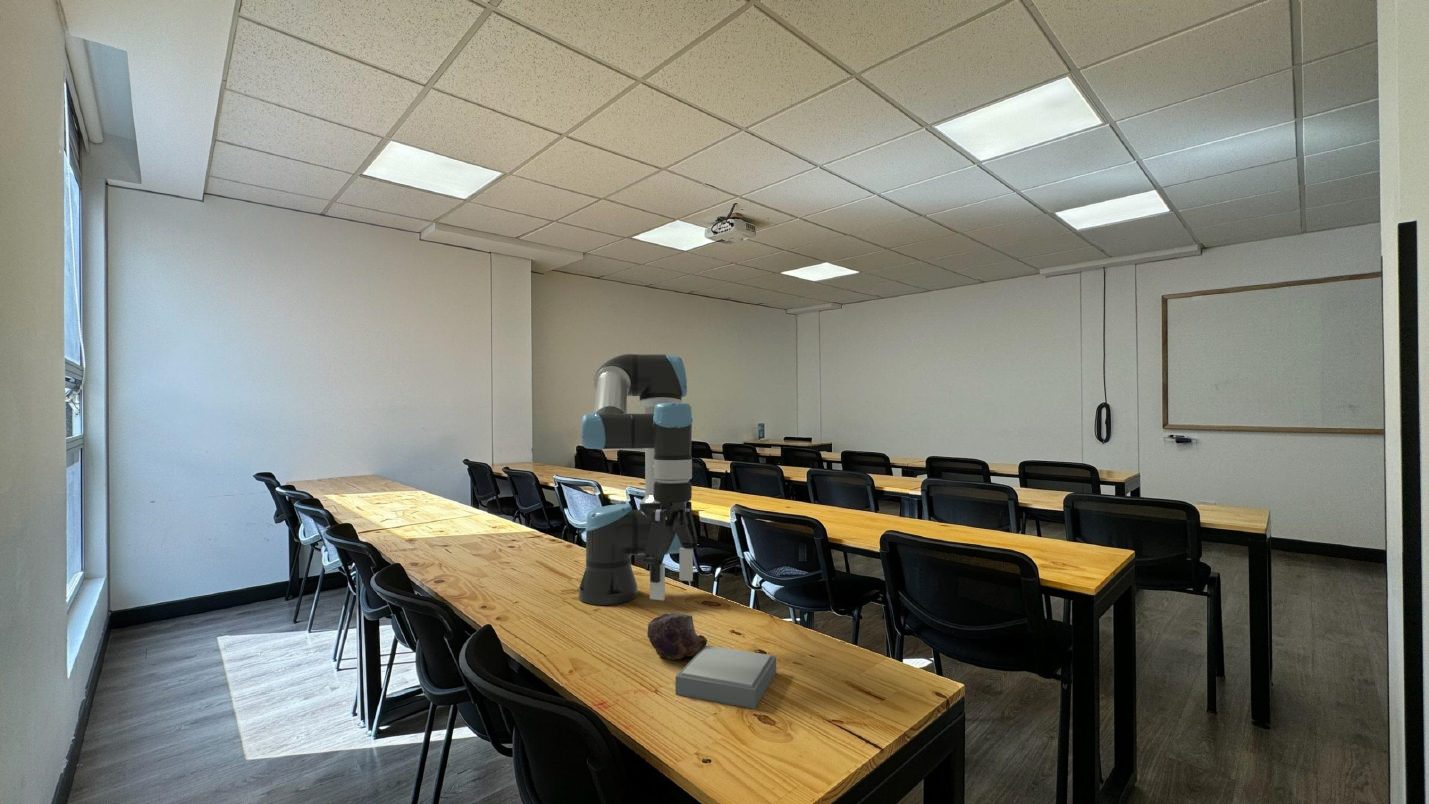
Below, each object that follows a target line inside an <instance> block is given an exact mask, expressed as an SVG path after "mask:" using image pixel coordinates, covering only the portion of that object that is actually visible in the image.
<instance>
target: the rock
mask: <svg viewBox="0 0 1429 804" xmlns="http://www.w3.org/2000/svg"><path fill="white" fill-rule="evenodd" d="M646 635H647V638H648V639H649V642H650V644H651V646H652V647H653V649H655V653H656V654H657V655H658V656H659V657H661V658H663V659H664V658H665V659H666V660H673V661H674V660H683V658H684V657H685V658H686V657H695V656H696V655H697V654H698V653H699V651H700V650H701V649H702V648H703V647H704V646H705V645H706V646H707V643H708V639H707V638H706V637H705V636H704V635H702V634H700V635H698V634H697V633H696V629H695V624H694V619H693V615H689V614H686V613H684V612H682V613H677V612H675V613H674V612H672V613H669V614H668V613H663V614H660V615H659V616H656V617H654V618H653V619H652V620H651V621H650V622H648V624H647V634H646Z"/></svg>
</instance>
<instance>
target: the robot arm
mask: <svg viewBox="0 0 1429 804" xmlns="http://www.w3.org/2000/svg"><path fill="white" fill-rule="evenodd" d="M687 383H688V381H687V374H686V368H685V364H684V361H683V359H682V357H681V356H679V355H675V354H674V355H672V354H666V353H664V354H636V353H635V354H634V353H625V354H621V355H618V356H615V357H613V358H611V359H609V360H607V361H606V362H605V363H603V364H602V365H601V366H600V367H599V368H598V369H597V371H596V372H595V375H594V378H593V387H594V391H595V399H594V406H593V407H594V408H593V412H592V413H586V414H584V415H583V416H582V418H581V444H582V447H584V448H585V449H591V450H594V449H596V450H599V451H602V450H625V449H626V450H627V449H629V450H630V449H633V450H634V449H636V450H638V449H639V450H642V449H643V450H644V451H645V452H644V453H645V454H644V456H645V457H644V458H645V460H644V461H645V463H644V464H645V465H644V469H645V471H644V474H645V476H644V477H645V479H644V481H645V485H644V487H645V488H644V493H645V495H644V497H643V498H642V500H641V501H640V502H639V509H633V508H632V505H631V504H629V503H617V504H610V505H605V506H601V507H597V508H593V509H592V510H591V511H589V512H588V513H587V515H586V523H585V530H584V531H585V532H586V533H585V534H586V536H585V537H586V539H585V569H584V572H583V575H582V578H581V582H580V584H579V587H578V599H579V601H581V602H583V603H585V604H589V605H595V606H608V605H609V606H610V605H620V604H624V603H627V602H630V601H633V600H635V598H637V597H638V592H639V591H638V587H639V586H638V583H637V580H636V576H635V573H634V570H633V567H632V556H643V555H644V556H643V563H644V564H646V565H649V600H657V601H664V600H665V599H666V597H665V596H666V593H665V592H666V588H665V587H666V572H665V571H666V563H663V561H664V558H665V556H666V555H669V554H672V555H673V554H678V555H679V558H678V559H679V561H678V562H679V572H678V573H679V577H678V579H679V581H685V582H692V581H694V579H693V577H694V573H693V572H694V564H693V563H694V549H697V548H698V546H699V545H698V536H697V535H698V534H697V531H696V526H695V525H696V524H695V521H694V517H693V511H692V510H693V509H692V508H693V507H692V501H691V500H692V495H693V494H692V493H693V490H692V488H693V483H692V482H691V481H690V480H691V479H692V478H693V459H692V457H693V456H692V432H693V429H692V427H693V424H692V423H693V417H692V415H693V414H692V406H691V405H690V404H689V403H688V402H687V403H685V402H683V401H682V398H684V397H686V396H687V395H688V385H687ZM628 397H639V404H640V405H641V406H642V407H643V408H644V412H645V413H628Z"/></svg>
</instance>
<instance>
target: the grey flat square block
mask: <svg viewBox="0 0 1429 804" xmlns="http://www.w3.org/2000/svg"><path fill="white" fill-rule="evenodd" d="M776 674H777V656H776V655H771V654H767V653H766V654H765V653H761V652H753V651H746V650H740V649H733V648H729V647H719V646H714V645H713V646H712V645H707V644H706V645H705V646H704V647H703V648H702V649H701V650H700V651H699V653H698V654H697V655H695V656H693V658H692V659H691V660H689V662H687V664H685V666H684V667H683V668H682V669H681V670H680V671H679V672H678V673H677V674H676V675H675V682H674V683H675V686H674V687H675V692H674V693H675V694H674V695H677V696H683V697H688V698H694V699H699V700H703V701H704V700H705V701H709V702H715V703H721V704H726V705H730V706H736V707H743V708H747V709H753V710H756V708H757V706H758V704H759V703H760V701H761V699H762V697H764V695H765V693H766V691H767V689H768V687H769V685H770V684H771V682H772V681H773V679H774V677H775V675H776Z"/></svg>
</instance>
